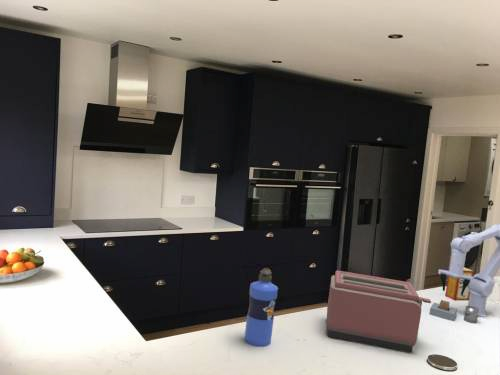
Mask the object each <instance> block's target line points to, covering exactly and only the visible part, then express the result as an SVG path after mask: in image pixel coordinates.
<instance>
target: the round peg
mask: <svg viewBox="0 0 500 375" xmlns="http://www.w3.org/2000/svg"><path fill="white" fill-rule="evenodd" d="M478 312H479V309H478V308H476V307H473V306H468V305H465V309H464V316H463V320H464V321H465V322H466V323H469V324H477V323H478V318H479V316H478Z"/></svg>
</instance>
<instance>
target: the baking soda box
mask: <svg viewBox="0 0 500 375" xmlns="http://www.w3.org/2000/svg"><path fill="white" fill-rule="evenodd" d="M449 270H450V268H449V269H448V271H449ZM474 273H475V270H472V269H470V268H467V267H465V266H464V270H463V274H464V275H468V276H471V277H473V276H474V275H475V274H474ZM463 281H464V280H463V279H459V278H455V277H450V276H447V280H446V286H445V297H447V298H448V299H450V300H453V301H469V296H470V292H469V289H468V287H466V289H465V290H464V293H463V296H461V292H462V287H463Z"/></svg>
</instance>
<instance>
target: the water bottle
mask: <svg viewBox="0 0 500 375" xmlns="http://www.w3.org/2000/svg"><path fill="white" fill-rule="evenodd" d="M272 278H273V277H272V271H271V269H269V268H268V267H267V268H266V267H265V268H263V269H262V270H260V271H259V275H258V280H257V281H253V282H251V283H250V286H249V294H248V295H249V307H248V311H247V315H246V321H245V324H246V325H245V331H244V341H245V343H247V344H248V345H250V346H252V347H253V346H254V347H262V348H263V347H268V346H270V345H271V343H272V335H273V334H272V333H273V327H274V321H275V320H274V319H275V318H274V315H275V314H274V312H275V311H274V308H275V304H276V300H277V298H278V290H279V287H278V286H277V285H275V284H273V283H272Z"/></svg>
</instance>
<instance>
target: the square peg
mask: <svg viewBox="0 0 500 375" xmlns="http://www.w3.org/2000/svg"><path fill="white" fill-rule="evenodd" d="M439 304H440V307H439V309H443V310H447V311H448V309H449V307H450V301H447V300H443V299H441V300H440V302H439Z"/></svg>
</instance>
